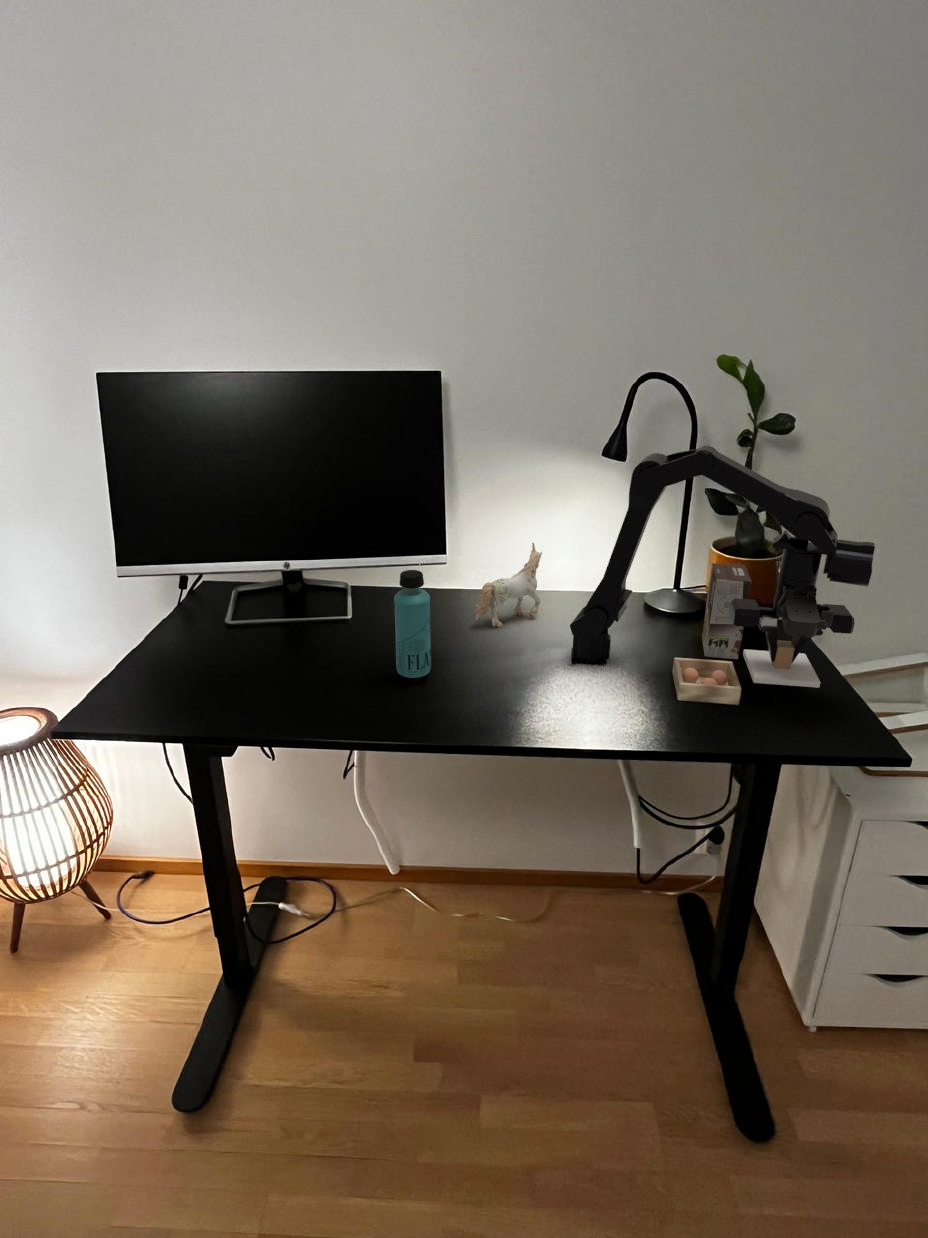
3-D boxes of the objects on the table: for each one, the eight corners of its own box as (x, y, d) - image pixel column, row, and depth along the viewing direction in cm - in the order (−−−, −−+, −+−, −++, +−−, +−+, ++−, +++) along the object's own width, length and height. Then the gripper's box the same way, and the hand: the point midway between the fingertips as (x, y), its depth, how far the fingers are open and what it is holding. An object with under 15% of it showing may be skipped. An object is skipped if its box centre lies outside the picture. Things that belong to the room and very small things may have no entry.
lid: (753, 682, 134) (758, 655, 131) (742, 654, 143) (747, 628, 141) (819, 687, 132) (825, 660, 130) (804, 658, 142) (809, 633, 140)
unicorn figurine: (557, 608, 173) (560, 549, 167) (499, 638, 160) (501, 575, 154) (530, 600, 177) (533, 542, 172) (472, 627, 164) (473, 566, 158)
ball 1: (681, 685, 142) (683, 671, 140) (680, 678, 144) (682, 664, 143) (698, 687, 141) (700, 672, 140) (696, 679, 144) (698, 665, 143)
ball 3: (710, 688, 141) (713, 674, 140) (708, 680, 143) (710, 666, 142) (727, 689, 140) (729, 675, 139) (725, 682, 143) (727, 668, 142)
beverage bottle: (404, 689, 141) (401, 582, 133) (389, 672, 146) (386, 569, 138) (438, 681, 144) (437, 575, 135) (422, 665, 149) (421, 563, 141)
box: (677, 702, 137) (679, 684, 136) (672, 674, 146) (674, 657, 145) (738, 707, 136) (741, 688, 135) (729, 678, 145) (731, 661, 144)
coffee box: (739, 661, 151) (752, 581, 144) (703, 658, 152) (715, 578, 146) (734, 640, 159) (746, 564, 153) (700, 637, 160) (711, 561, 154)
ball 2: (700, 696, 138) (702, 682, 137) (698, 688, 141) (700, 674, 140) (717, 697, 138) (719, 683, 137) (715, 689, 140) (717, 675, 139)
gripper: (747, 590, 124) (731, 680, 131) (874, 598, 122) (852, 689, 129) (735, 565, 134) (721, 649, 141) (853, 572, 132) (833, 657, 139)
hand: (781, 661), depth 137 cm, fingers closed on lid, 3 cm apart
